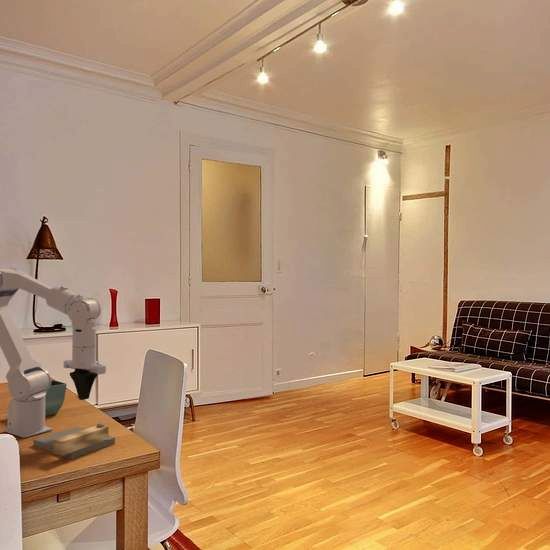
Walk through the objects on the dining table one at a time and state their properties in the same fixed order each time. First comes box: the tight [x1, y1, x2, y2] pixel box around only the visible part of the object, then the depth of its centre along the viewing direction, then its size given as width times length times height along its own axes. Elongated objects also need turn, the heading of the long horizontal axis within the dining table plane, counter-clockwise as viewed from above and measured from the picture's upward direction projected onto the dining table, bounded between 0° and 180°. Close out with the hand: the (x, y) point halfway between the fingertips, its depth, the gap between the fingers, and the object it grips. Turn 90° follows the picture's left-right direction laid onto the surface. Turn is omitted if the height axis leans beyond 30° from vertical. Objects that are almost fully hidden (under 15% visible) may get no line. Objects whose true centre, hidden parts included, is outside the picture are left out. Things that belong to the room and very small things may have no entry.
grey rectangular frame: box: [32, 426, 116, 460], centre depth 123 cm, size 15×12×2 cm
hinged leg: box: [52, 422, 110, 457], centre depth 117 cm, size 13×3×4 cm, turn 151°
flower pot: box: [45, 379, 68, 417], centre depth 149 cm, size 9×9×9 cm
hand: (83, 399), depth 129 cm, fingers closed
